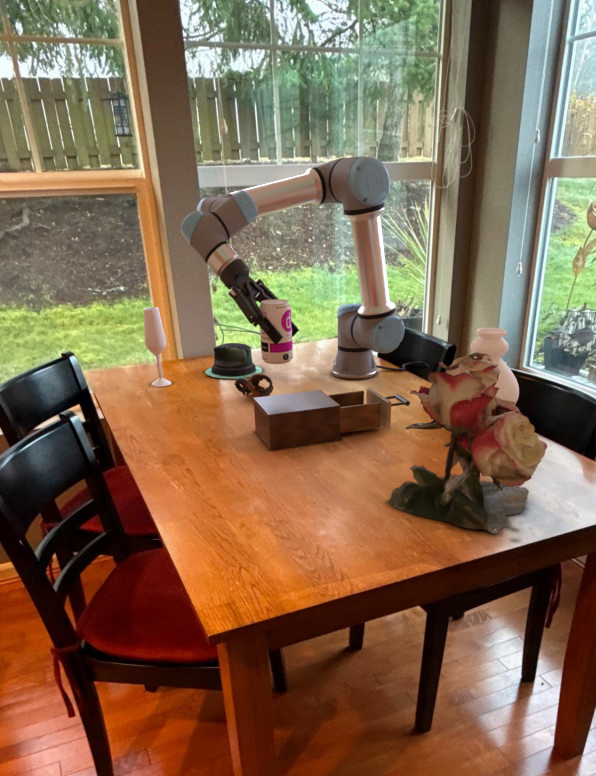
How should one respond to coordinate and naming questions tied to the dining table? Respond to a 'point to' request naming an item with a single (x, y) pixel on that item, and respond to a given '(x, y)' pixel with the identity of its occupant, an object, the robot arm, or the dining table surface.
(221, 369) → the dark green rounded hat
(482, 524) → the rose bouquet
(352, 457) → the dining table surface
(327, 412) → the cabinet
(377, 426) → the drawer
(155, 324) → the champagne flute
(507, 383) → the decorative vase
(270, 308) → the supplement can
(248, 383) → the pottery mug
